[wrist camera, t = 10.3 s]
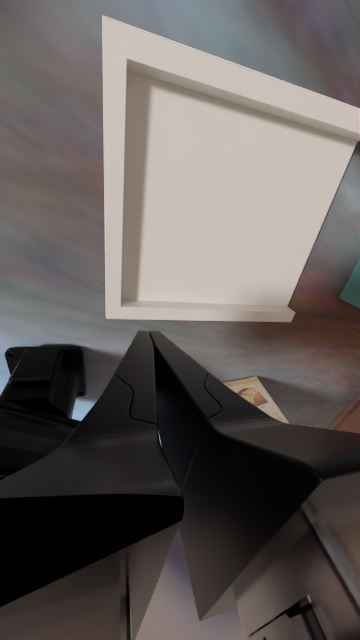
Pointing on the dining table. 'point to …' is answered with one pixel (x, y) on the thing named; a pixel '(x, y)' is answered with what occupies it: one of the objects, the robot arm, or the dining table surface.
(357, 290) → the teal rectangular block
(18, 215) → the dining table surface
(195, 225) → the tray
